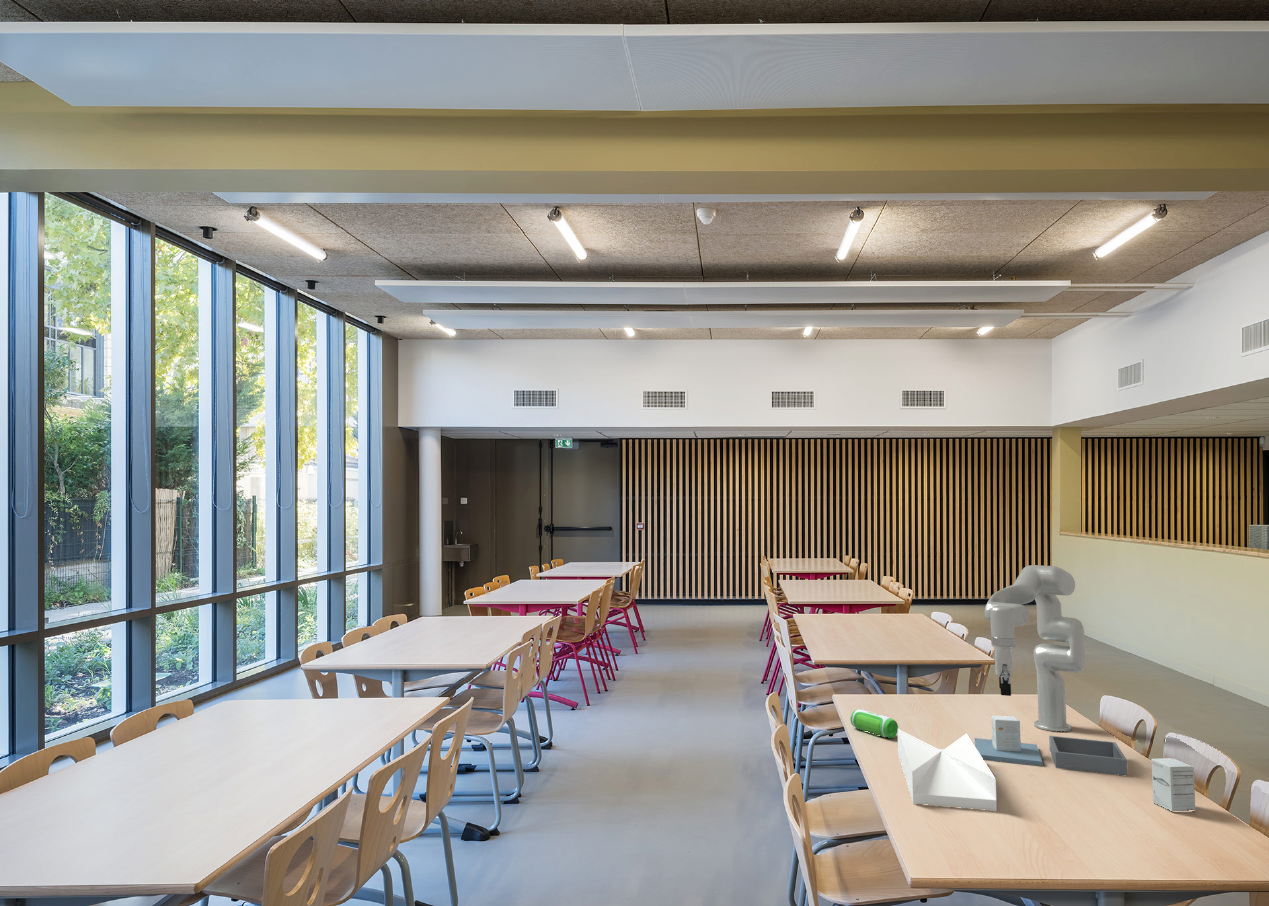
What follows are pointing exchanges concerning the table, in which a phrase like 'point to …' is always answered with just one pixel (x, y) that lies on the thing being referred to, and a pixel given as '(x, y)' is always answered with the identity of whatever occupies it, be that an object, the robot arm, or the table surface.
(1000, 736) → the small box
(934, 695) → the table surface
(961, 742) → the building model
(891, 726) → the speaker
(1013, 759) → the board
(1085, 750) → the rectangular frame
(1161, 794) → the supplement box
